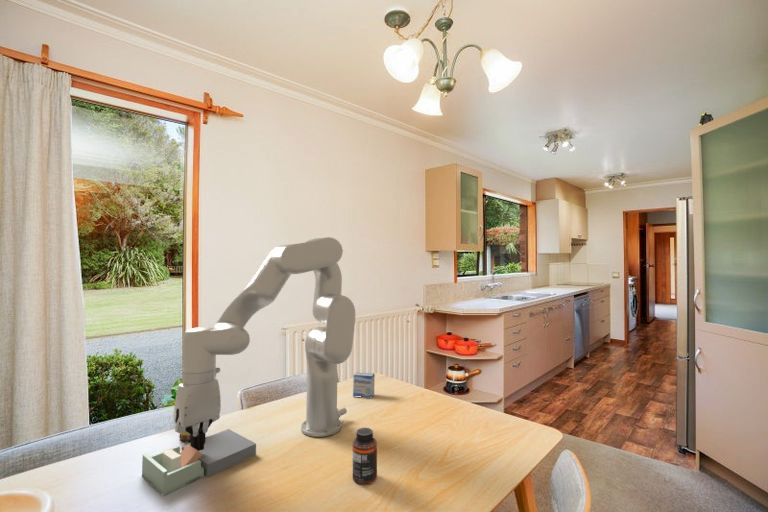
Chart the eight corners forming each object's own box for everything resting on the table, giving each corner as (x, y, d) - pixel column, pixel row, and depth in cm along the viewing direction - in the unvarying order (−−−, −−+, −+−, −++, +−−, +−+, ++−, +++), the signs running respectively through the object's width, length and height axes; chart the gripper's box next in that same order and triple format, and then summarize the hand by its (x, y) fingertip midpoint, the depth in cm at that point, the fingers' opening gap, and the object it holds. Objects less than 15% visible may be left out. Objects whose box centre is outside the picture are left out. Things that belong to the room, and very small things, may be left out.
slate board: (228, 439, 104) (228, 428, 104) (255, 454, 96) (256, 443, 96) (181, 457, 94) (181, 446, 94) (207, 477, 86) (208, 464, 86)
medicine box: (352, 397, 139) (352, 374, 140) (355, 393, 144) (355, 371, 144) (372, 398, 138) (372, 376, 138) (374, 394, 142) (374, 372, 143)
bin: (181, 460, 93) (181, 440, 93) (203, 476, 86) (204, 455, 86) (141, 475, 86) (142, 454, 86) (162, 495, 79) (163, 472, 79)
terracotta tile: (192, 448, 92) (187, 444, 91) (202, 454, 89) (197, 450, 88) (176, 467, 88) (171, 463, 87) (186, 474, 85) (180, 470, 84)
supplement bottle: (369, 468, 90) (369, 423, 90) (381, 480, 85) (382, 432, 85) (347, 476, 87) (348, 429, 87) (359, 489, 82) (360, 439, 82)
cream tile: (171, 449, 88) (162, 452, 86) (181, 455, 85) (172, 459, 83) (170, 469, 87) (161, 473, 86) (180, 477, 84) (171, 481, 83)
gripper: (220, 367, 99) (218, 433, 99) (161, 380, 87) (159, 456, 87) (234, 372, 95) (233, 442, 94) (174, 387, 83) (172, 467, 82)
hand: (197, 448), depth 90 cm, fingers closed
